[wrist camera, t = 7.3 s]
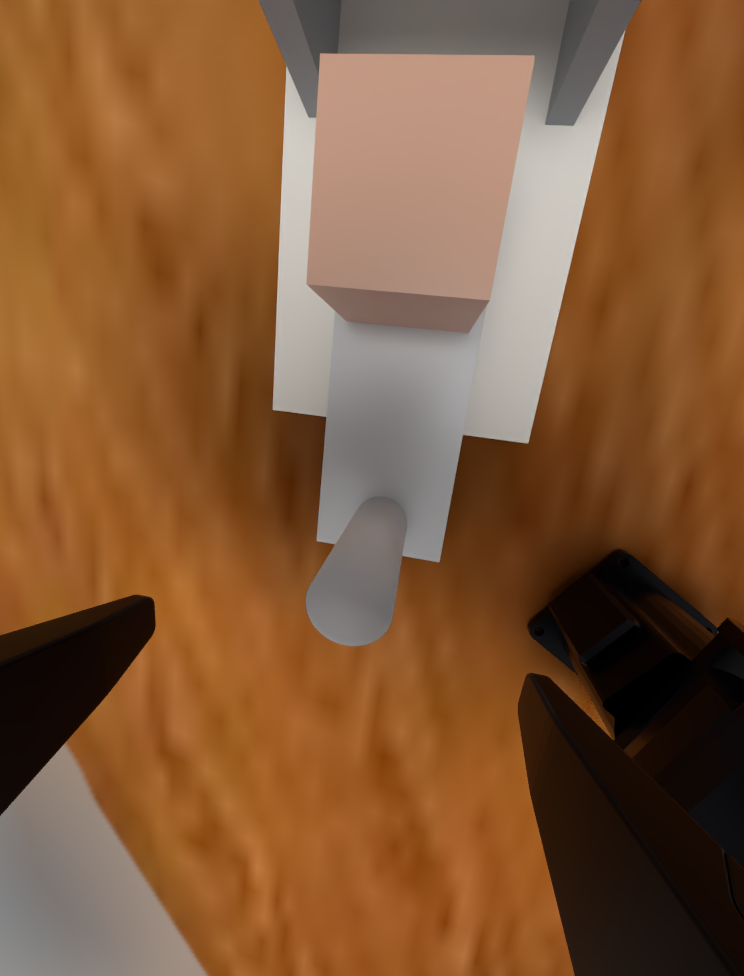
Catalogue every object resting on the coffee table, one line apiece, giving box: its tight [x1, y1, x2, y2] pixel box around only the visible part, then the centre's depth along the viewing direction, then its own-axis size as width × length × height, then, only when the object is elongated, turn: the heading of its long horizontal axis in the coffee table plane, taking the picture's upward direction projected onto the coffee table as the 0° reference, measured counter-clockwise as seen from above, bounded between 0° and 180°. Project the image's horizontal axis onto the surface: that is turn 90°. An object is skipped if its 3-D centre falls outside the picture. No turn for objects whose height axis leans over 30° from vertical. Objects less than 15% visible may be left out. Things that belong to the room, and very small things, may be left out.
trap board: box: [273, 0, 625, 443], centre depth 14 cm, size 24×12×2 cm, turn 174°
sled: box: [306, 53, 535, 646], centre depth 12 cm, size 16×6×8 cm, turn 174°
